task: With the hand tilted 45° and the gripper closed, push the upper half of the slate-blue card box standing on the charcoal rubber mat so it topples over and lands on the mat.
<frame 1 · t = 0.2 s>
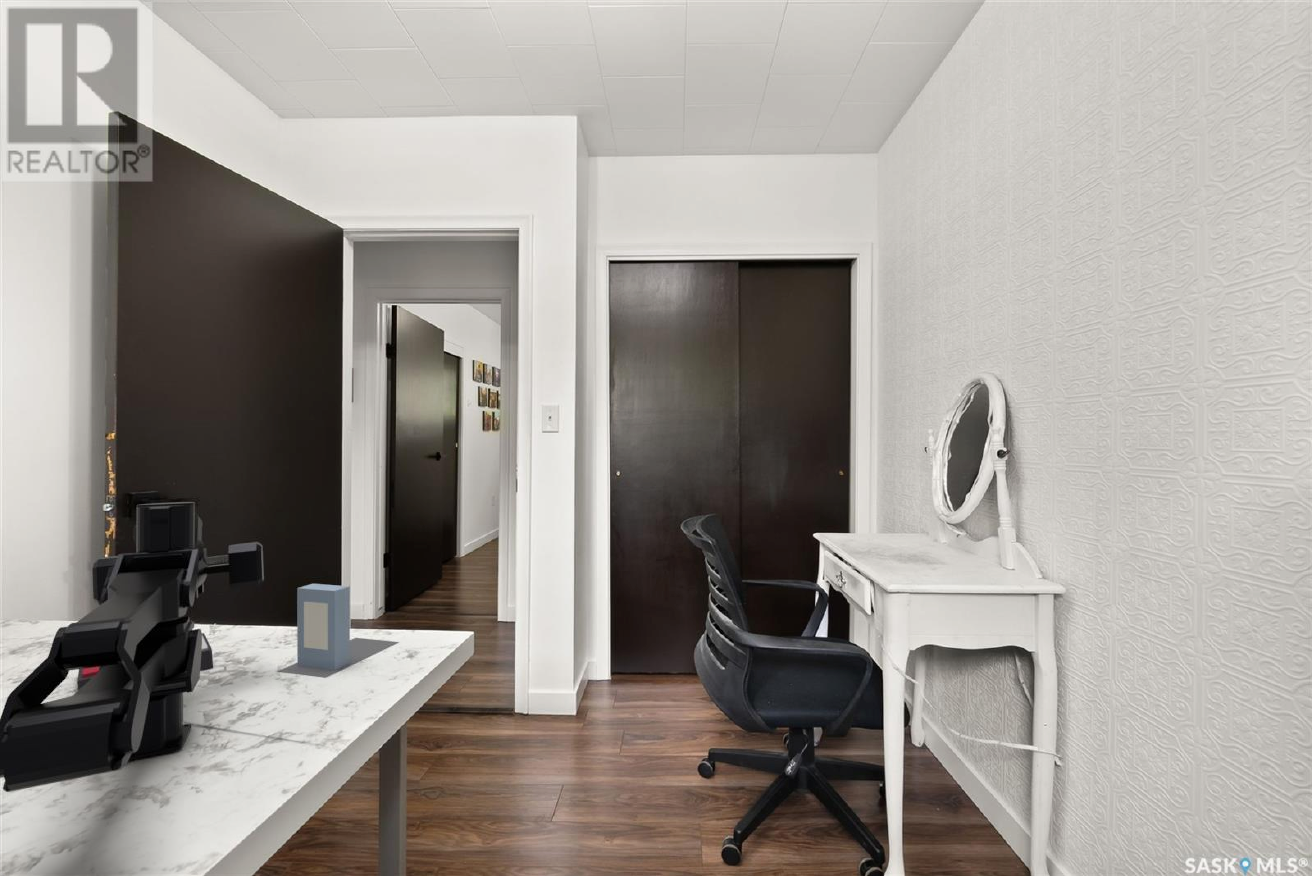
hand: (195, 563, 93), 16 cm above the table, tool horizontal, fingers open, 9 cm apart
card box: (323, 664, 94), resting on mat
calculator: (147, 677, 92), on the table
mat: (342, 658, 98), on the table
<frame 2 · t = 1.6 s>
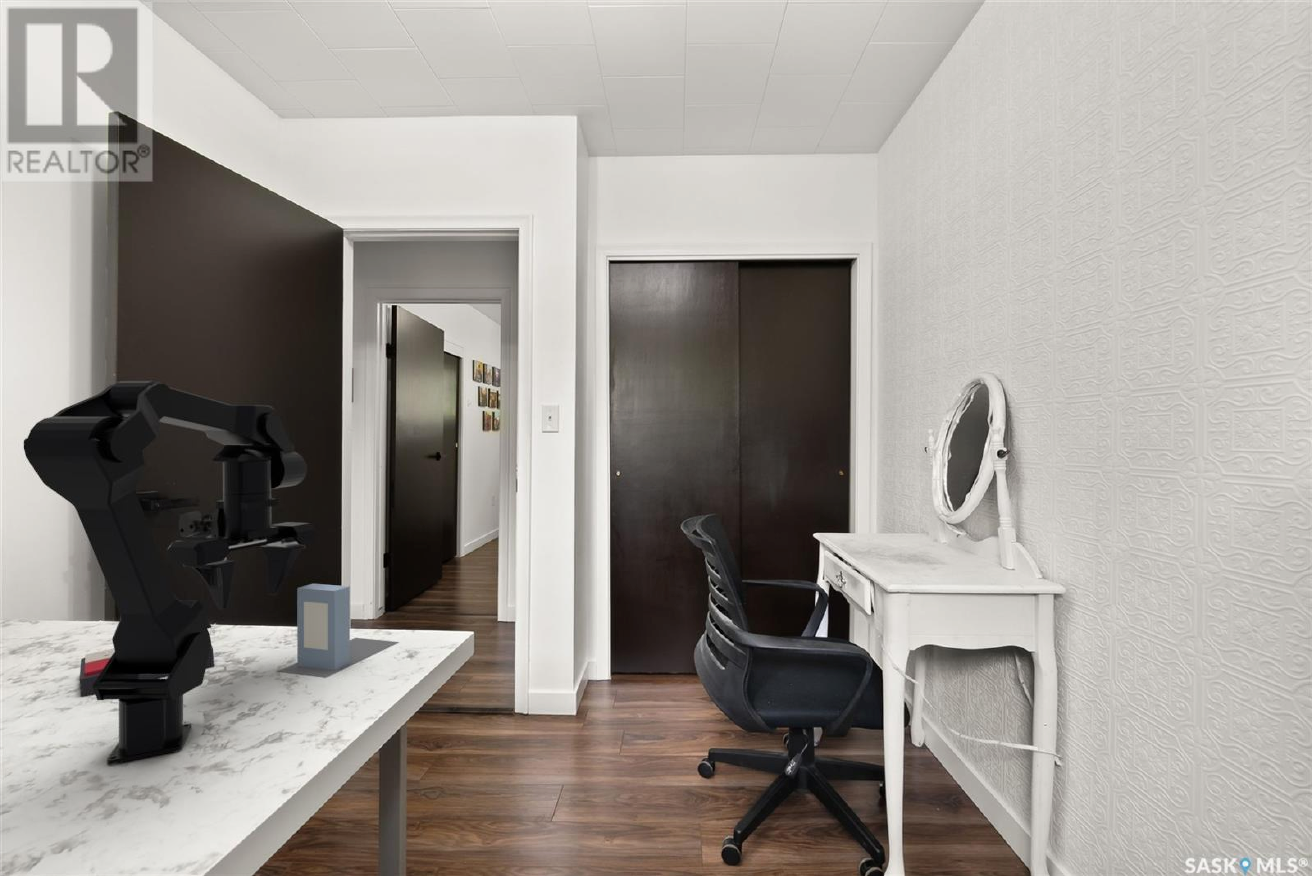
hand: (248, 601, 87), 12 cm above the table, tool pointing down, fingers open, 8 cm apart
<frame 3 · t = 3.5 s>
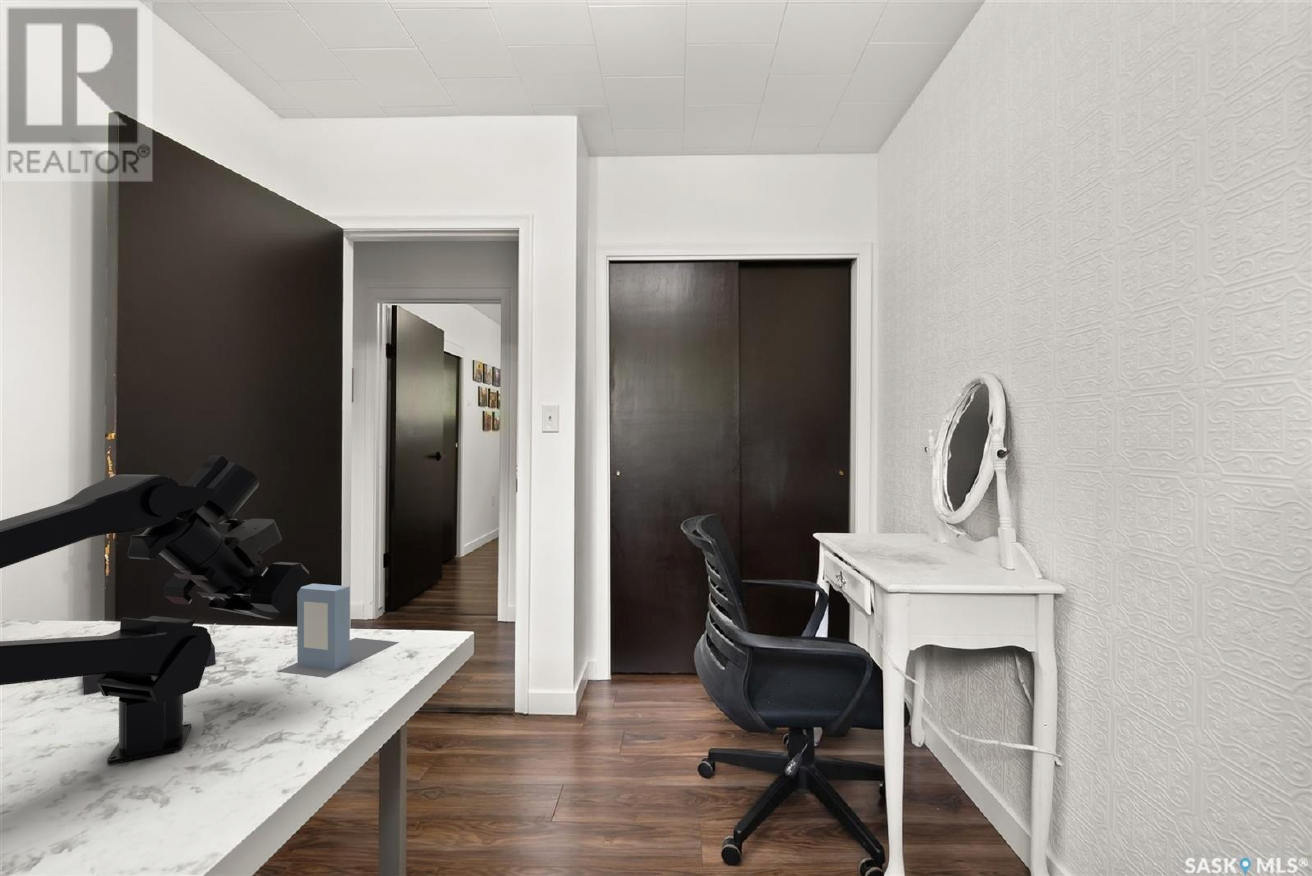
hand: (274, 616, 86), 10 cm above the table, tool tilted 45°, fingers closed
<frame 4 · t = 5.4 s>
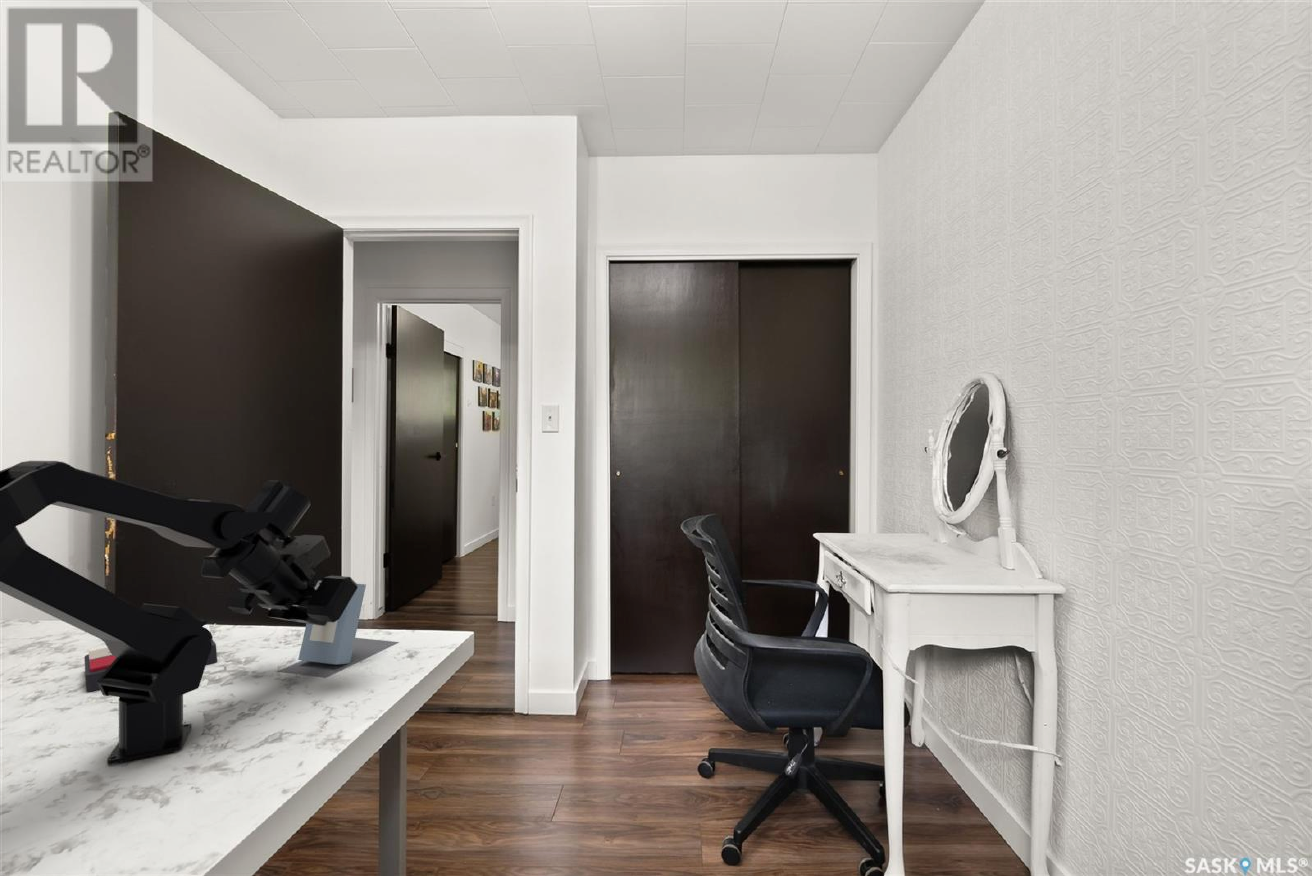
hand: (324, 622, 94), 7 cm above the table, tool tilted 45°, fingers closed
card box: (324, 661, 94), point 1 cm above the table, tilted 17°, touching mat
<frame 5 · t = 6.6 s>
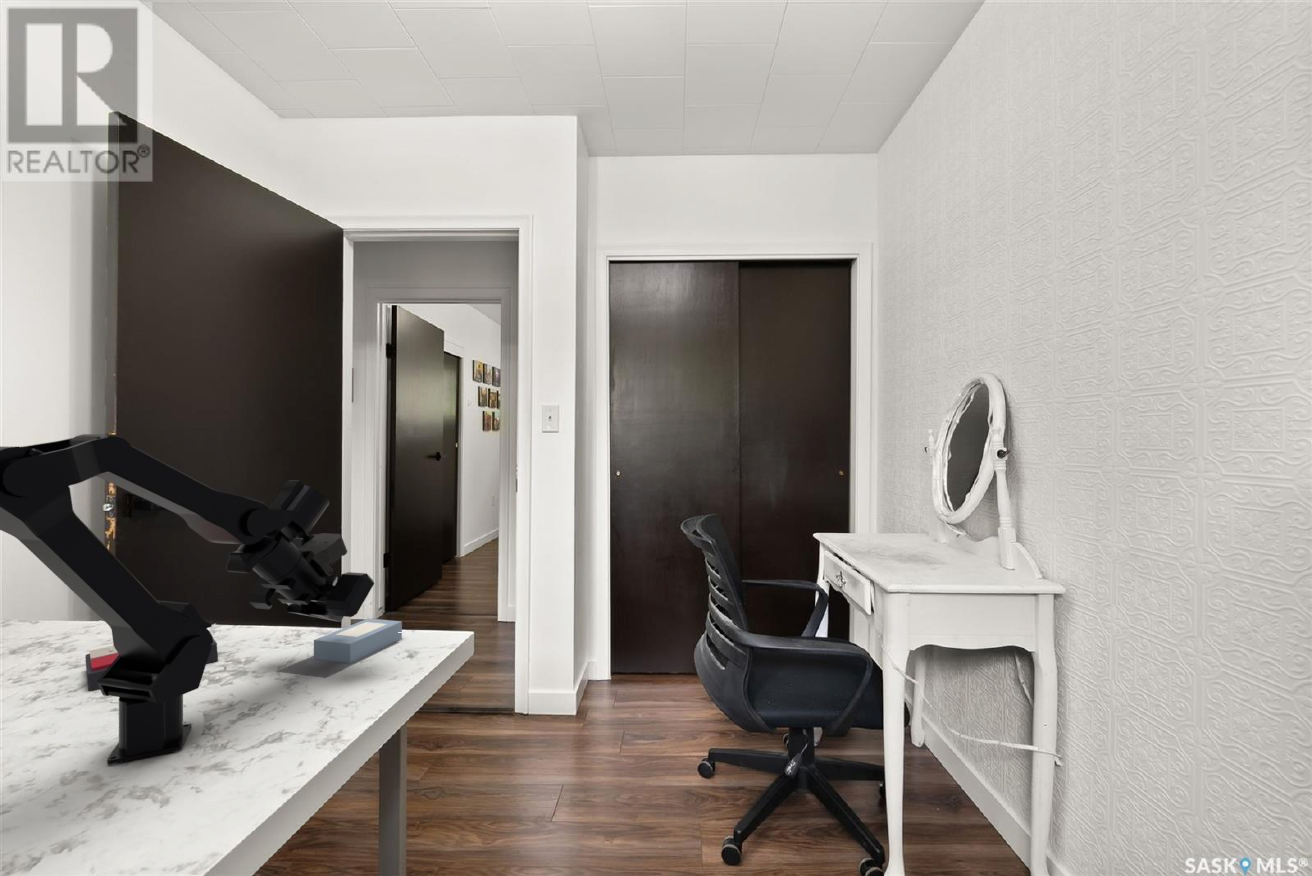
hand: (340, 618, 98), 7 cm above the table, tool tilted 45°, fingers closed
card box: (331, 651, 96), point 2 cm above the table, tilted 90°, touching mat
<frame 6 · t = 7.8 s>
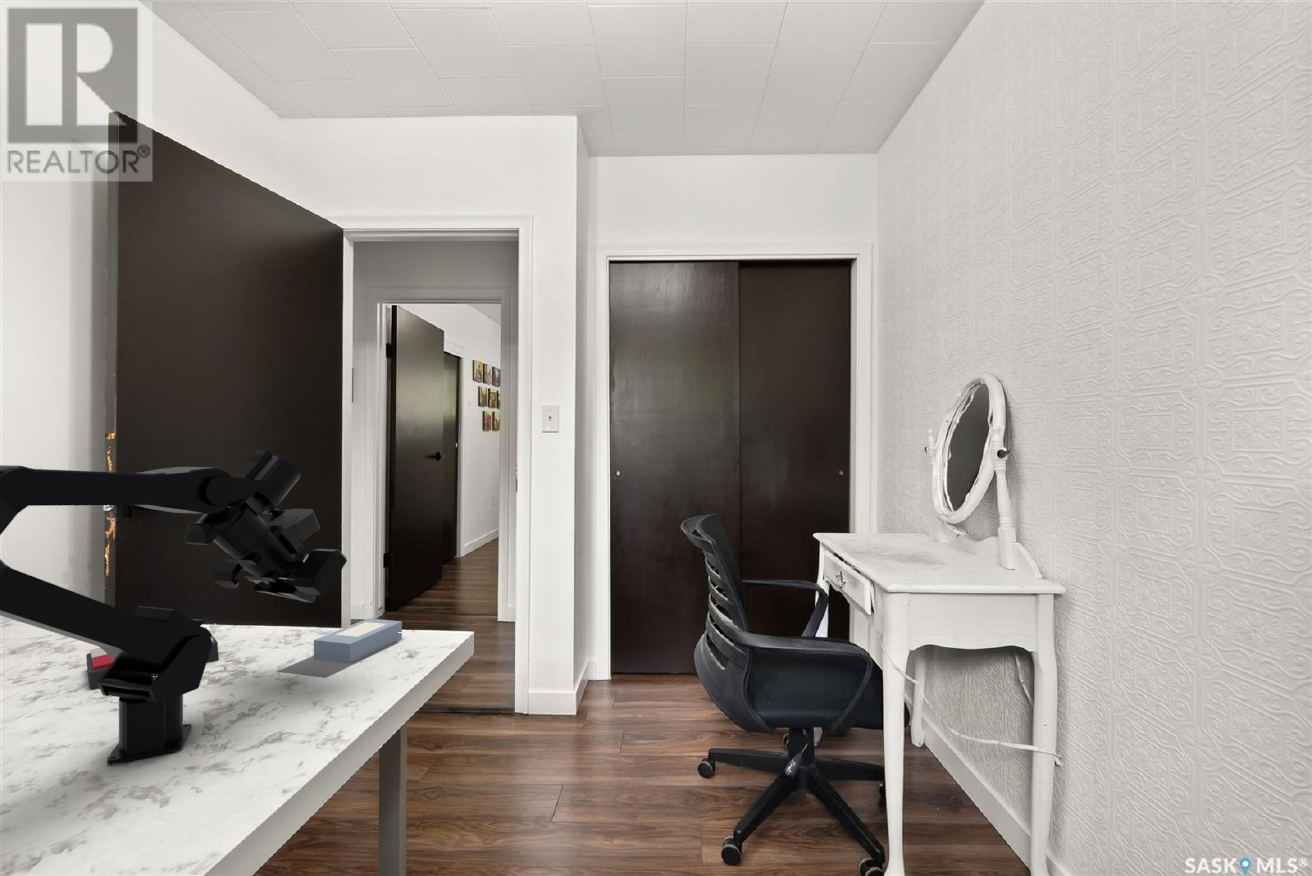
hand: (312, 599, 92), 11 cm above the table, tool tilted 45°, fingers closed
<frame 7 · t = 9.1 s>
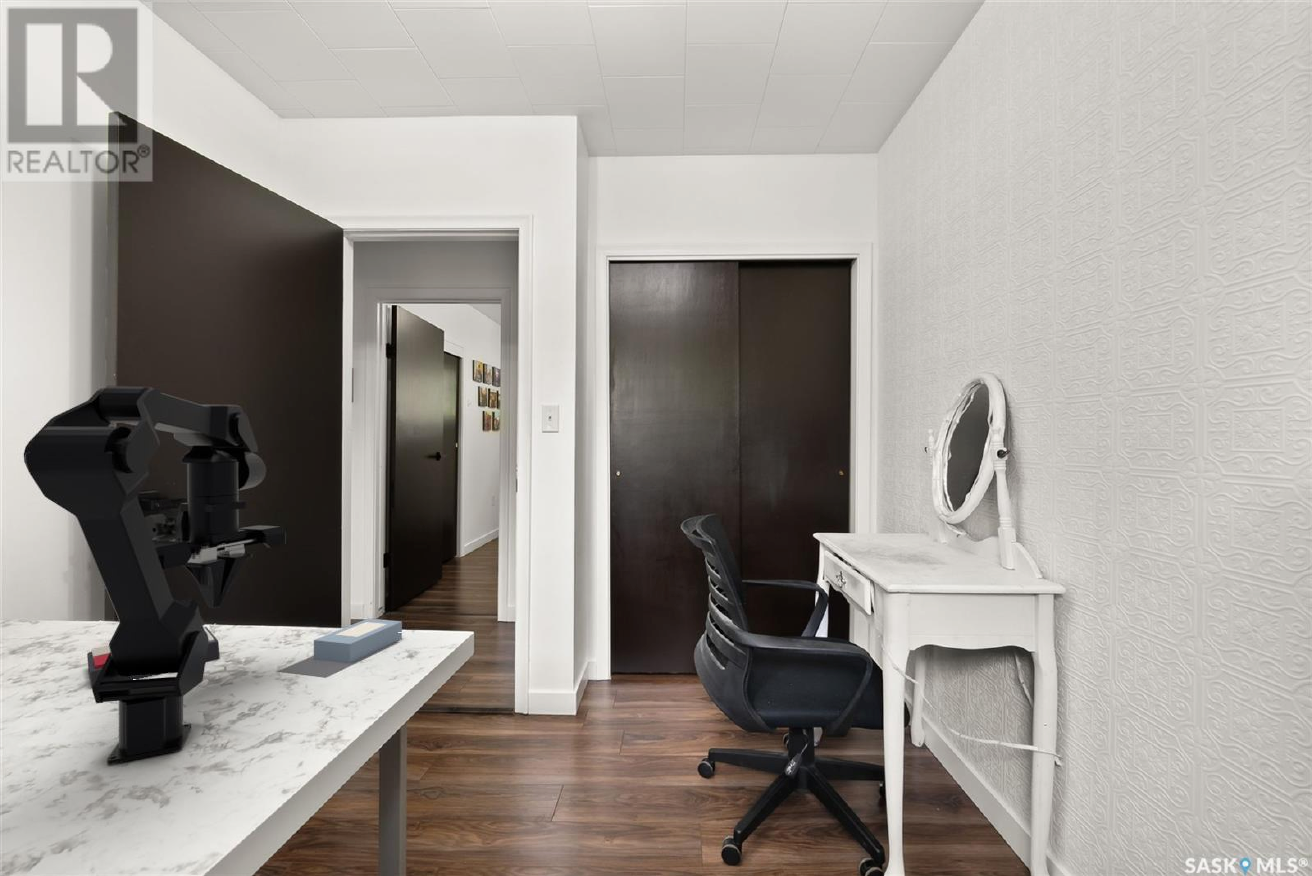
hand: (213, 607, 84), 12 cm above the table, tool pointing down, fingers closed
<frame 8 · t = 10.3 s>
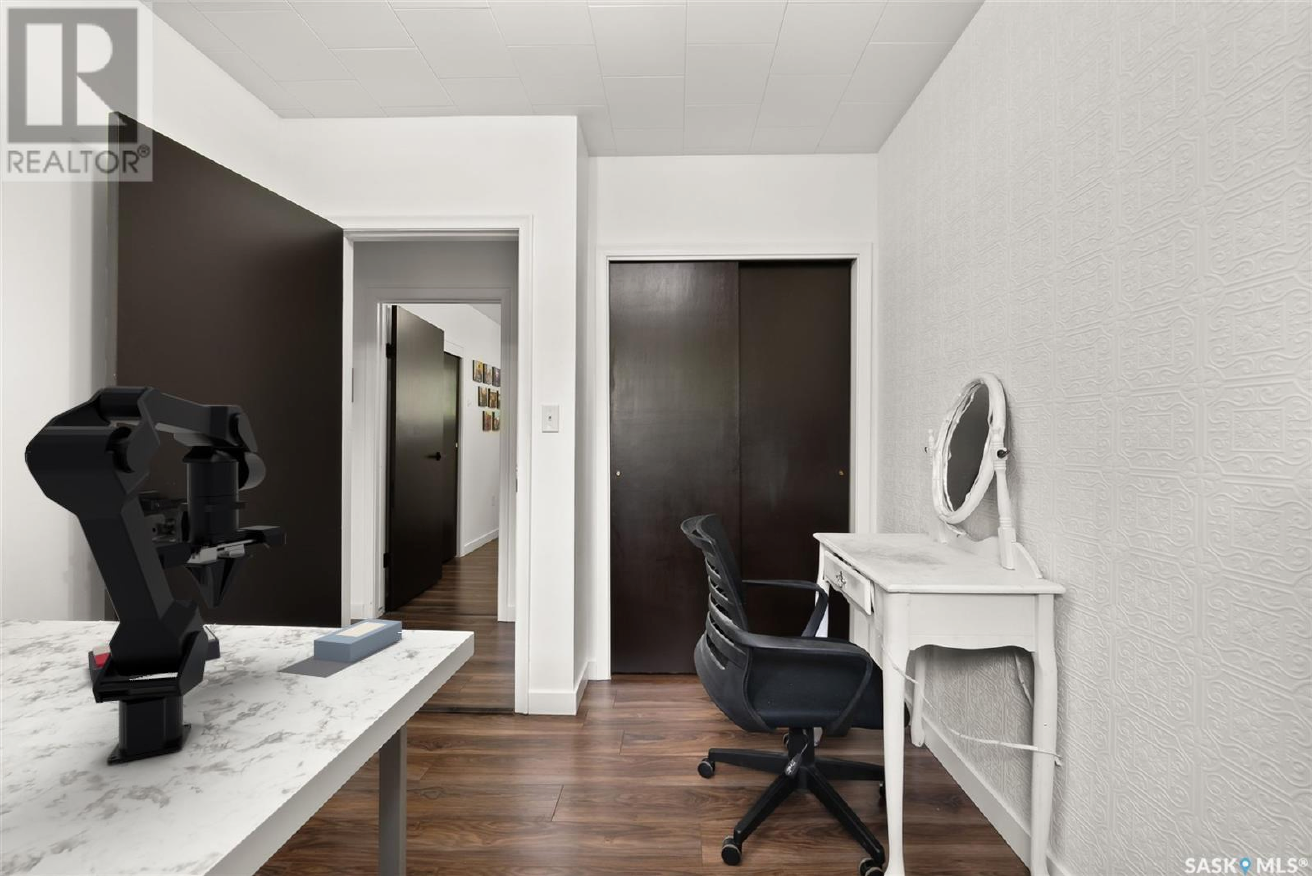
hand: (213, 607, 84), 12 cm above the table, tool pointing down, fingers closed
at the end: card box tilted 90°; card box 2.4 cm from the mat (horizontally); card box point 1.9 cm above the table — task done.
